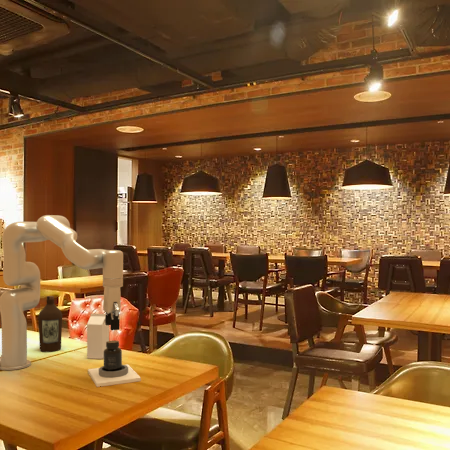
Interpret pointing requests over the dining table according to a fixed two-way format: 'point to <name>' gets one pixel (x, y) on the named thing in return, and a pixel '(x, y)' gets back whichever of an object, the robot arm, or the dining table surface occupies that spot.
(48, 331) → the olive oil
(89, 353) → the milk carton
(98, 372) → the dock
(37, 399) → the dining table surface
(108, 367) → the supplement bottle
